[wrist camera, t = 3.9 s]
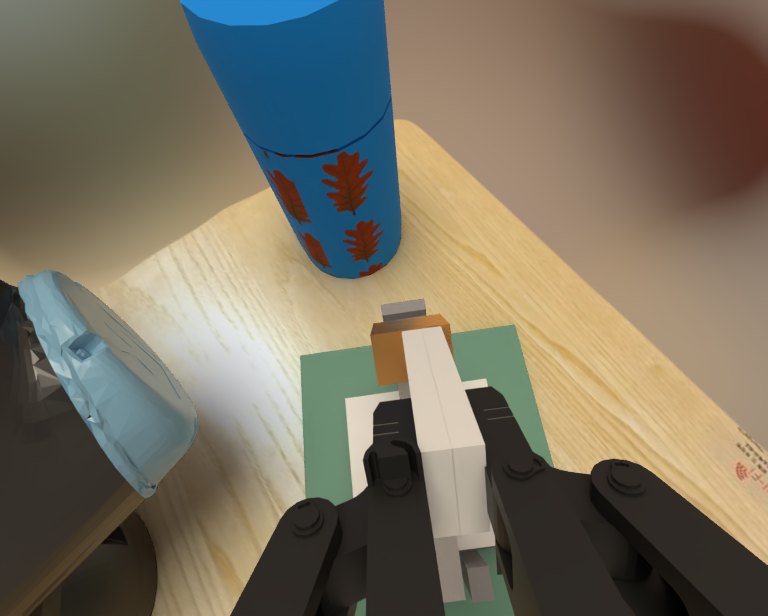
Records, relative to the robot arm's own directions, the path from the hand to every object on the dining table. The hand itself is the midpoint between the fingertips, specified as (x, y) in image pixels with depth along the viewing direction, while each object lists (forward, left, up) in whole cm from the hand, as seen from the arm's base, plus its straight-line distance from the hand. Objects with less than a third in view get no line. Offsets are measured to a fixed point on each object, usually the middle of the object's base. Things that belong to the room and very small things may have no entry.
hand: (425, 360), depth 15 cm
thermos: (-4, +21, -21) cm, 30 cm away
